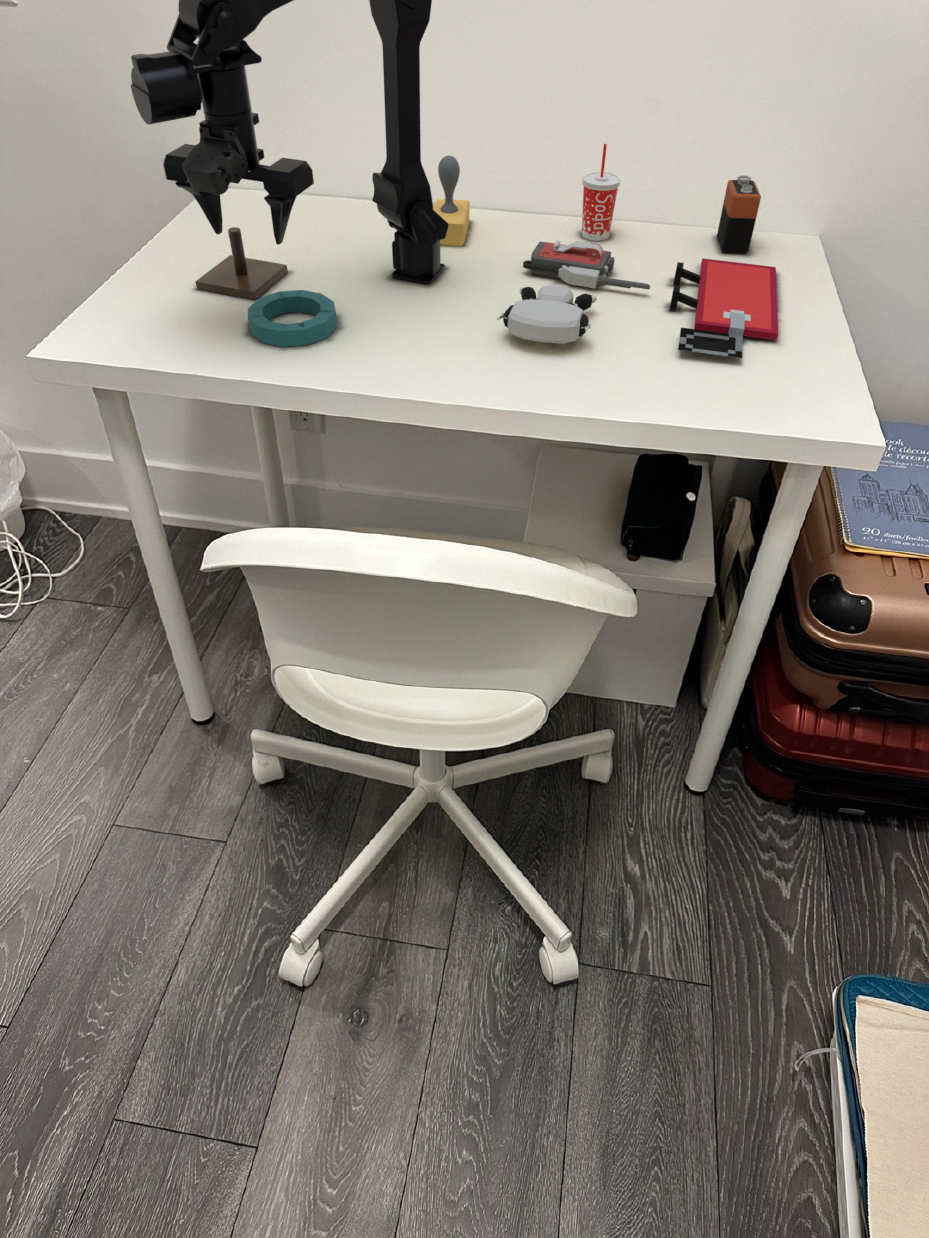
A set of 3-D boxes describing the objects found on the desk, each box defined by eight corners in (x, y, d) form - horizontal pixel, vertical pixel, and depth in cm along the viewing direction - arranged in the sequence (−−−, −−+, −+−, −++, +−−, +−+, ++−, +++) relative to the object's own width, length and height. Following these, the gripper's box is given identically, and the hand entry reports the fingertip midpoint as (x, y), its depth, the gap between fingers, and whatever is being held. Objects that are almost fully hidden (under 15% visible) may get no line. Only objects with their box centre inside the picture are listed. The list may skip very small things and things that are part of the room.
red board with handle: (662, 354, 120) (776, 369, 118) (666, 334, 118) (782, 350, 116) (676, 264, 141) (773, 276, 139) (679, 246, 139) (778, 258, 137)
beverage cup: (574, 240, 147) (583, 149, 137) (579, 226, 151) (588, 136, 141) (611, 244, 146) (623, 152, 136) (615, 229, 150) (626, 139, 140)
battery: (742, 237, 148) (756, 174, 141) (748, 254, 144) (763, 190, 137) (715, 236, 149) (728, 173, 142) (721, 253, 144) (734, 189, 137)
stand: (287, 272, 138) (280, 221, 133) (255, 300, 132) (246, 248, 126) (231, 262, 141) (222, 212, 135) (196, 289, 134) (185, 237, 129)
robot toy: (516, 306, 132) (494, 347, 121) (518, 275, 129) (495, 314, 118) (598, 316, 130) (583, 359, 119) (602, 285, 127) (587, 326, 116)
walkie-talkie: (517, 279, 137) (647, 299, 132) (519, 251, 134) (651, 270, 129) (533, 256, 143) (657, 275, 138) (535, 228, 140) (662, 246, 135)
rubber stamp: (435, 220, 153) (434, 145, 144) (469, 222, 152) (470, 146, 144) (428, 244, 146) (427, 166, 137) (464, 246, 145) (464, 168, 137)
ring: (350, 314, 129) (349, 298, 127) (312, 353, 121) (310, 336, 119) (276, 300, 132) (274, 284, 130) (234, 337, 124) (231, 321, 122)
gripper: (122, 120, 105) (154, 251, 116) (261, 139, 101) (281, 274, 112) (175, 93, 112) (201, 220, 124) (308, 110, 108) (322, 240, 119)
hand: (249, 238), depth 119 cm, fingers open, 9 cm apart
